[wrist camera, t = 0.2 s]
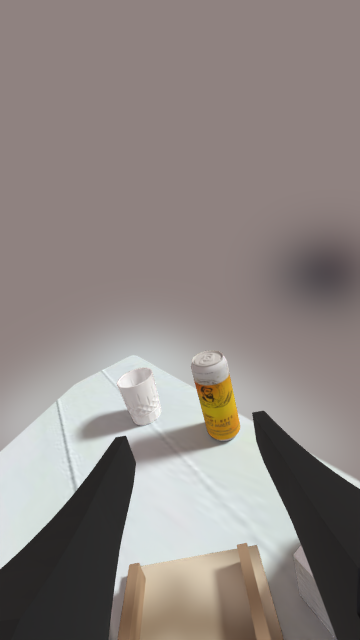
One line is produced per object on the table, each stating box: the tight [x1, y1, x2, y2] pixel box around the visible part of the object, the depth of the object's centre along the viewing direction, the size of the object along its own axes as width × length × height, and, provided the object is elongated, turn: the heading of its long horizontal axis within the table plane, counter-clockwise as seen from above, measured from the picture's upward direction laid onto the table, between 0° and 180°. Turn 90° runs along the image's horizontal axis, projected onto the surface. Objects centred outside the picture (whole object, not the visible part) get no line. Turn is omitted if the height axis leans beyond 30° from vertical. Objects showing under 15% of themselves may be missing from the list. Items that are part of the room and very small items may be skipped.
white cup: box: [117, 368, 161, 425], centre depth 47 cm, size 8×8×10 cm
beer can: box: [191, 350, 240, 441], centre depth 37 cm, size 6×6×15 cm
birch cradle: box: [117, 543, 284, 640], centre depth 17 cm, size 10×14×4 cm
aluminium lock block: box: [293, 545, 337, 640], centre depth 18 cm, size 4×8×6 cm, turn 120°
